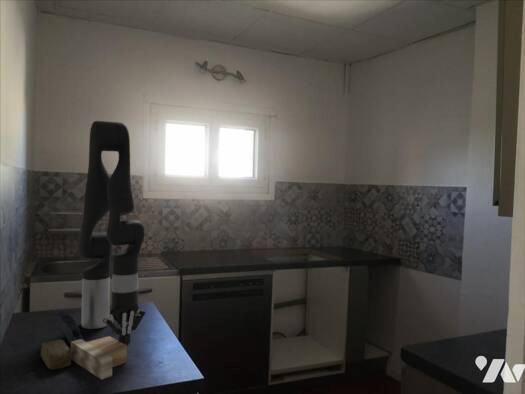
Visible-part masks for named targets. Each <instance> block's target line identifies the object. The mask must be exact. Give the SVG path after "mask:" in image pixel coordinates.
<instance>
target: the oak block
mask: <svg viewBox="0 0 525 394" xmlns="http://www.w3.org/2000/svg"><path fill="white" fill-rule="evenodd" d="M86 342H87V343H89V344H91V345H92V346H94V347H96V348H97V349H99V350H101V351H103V352H104V353H106V354H108V355H109V356H111V357H112V368H114V367H117V366H120V365H123V364H125V363H127V352H128V351H127V347H128V346H127V345H125V344H123V343H121V342H120V341H119V339H118V340H117V339H116V338H114V337H112V336H110V335H109V336H105V337H99V338H97V339H93V340H90V341H89V340H88V341H86Z"/></svg>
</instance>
